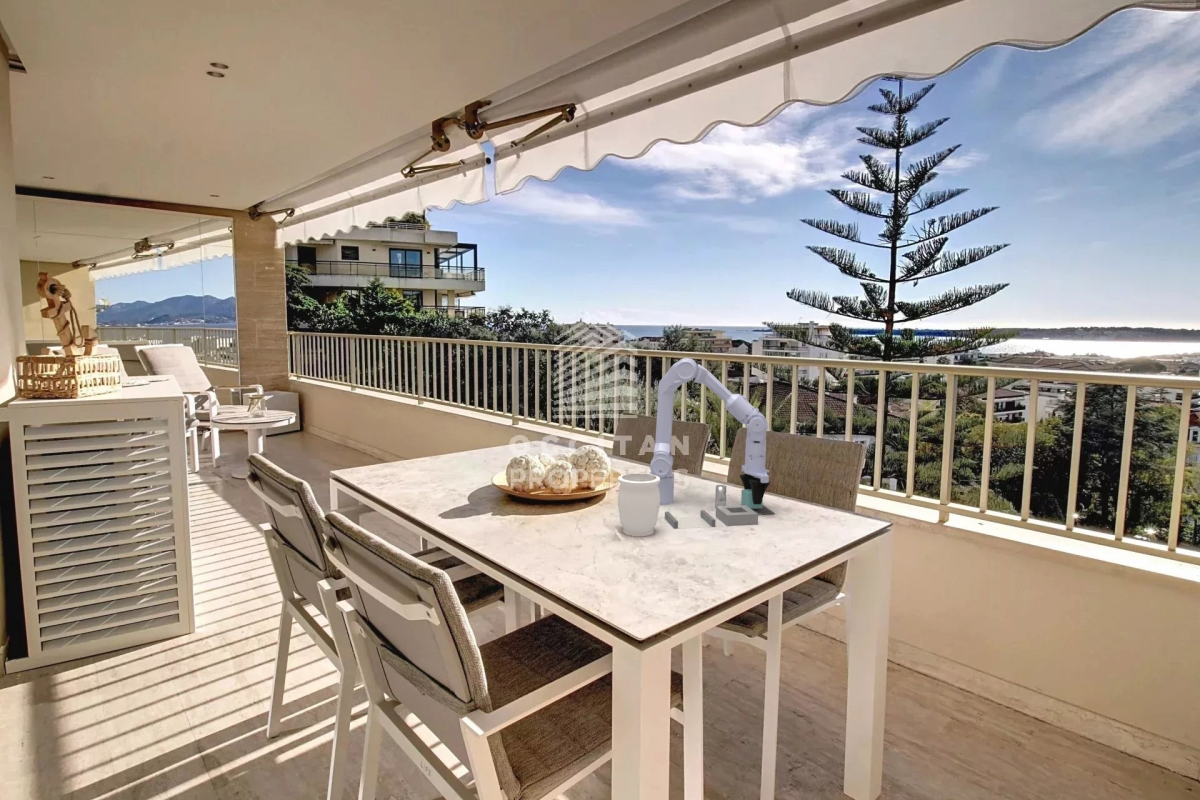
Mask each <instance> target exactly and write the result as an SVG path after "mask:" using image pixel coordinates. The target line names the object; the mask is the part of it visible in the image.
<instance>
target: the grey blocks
mask: <svg viewBox="0 0 1200 800" xmlns="http://www.w3.org/2000/svg"><path fill="white" fill-rule="evenodd" d="M699 514H700V515H699V516H683V517H674V516H673V514H672V513H671V512H669V511H664V519H665V520H666V521H667V523H668V524H669V525H670V526H671V527H672V528H673V529H674V530H677V529H681V530H682V529H696V528H697V529H698V528H715V527H716V519H718V521H720V522H722V524H724V525H725V526H726V527H733V526H734V527H738V526H754V525H757V526H758V525H759V515H758V513H756V512H755V511H753V510H752V509H750V508H749V507H748V506H746V505H741V504H737V505H735V504H734V505H726V506H716V508H715V517H713V516H711V514H709V513H708V512H707V511H706V510H705V509H700V513H699ZM715 518H716V519H715Z"/></svg>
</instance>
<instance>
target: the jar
mask: <svg viewBox="0 0 1200 800" xmlns="http://www.w3.org/2000/svg"><path fill="white" fill-rule="evenodd" d="M617 477H618V479H617V481H618V483H619V484H620V485H619V487H618V488H619V489H618V493H617V509H618V515H619V522H620V525H621V527H622V528H623V530H622V533H623V534H626V535H628V536H634V537H643V536H644V537H645V536H651V535H653V534H654V533H655V531H654V529H655V527H656V525H657V524H658V523H657V522H658V518H659V511H660V493H659V487H658V484H659V483H660V478H659V477H658V476H655V475H651V474H650V473H643V472H642V473H641V472H640V473H638V472H636V473H624V474H622V475H619V476H617Z"/></svg>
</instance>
